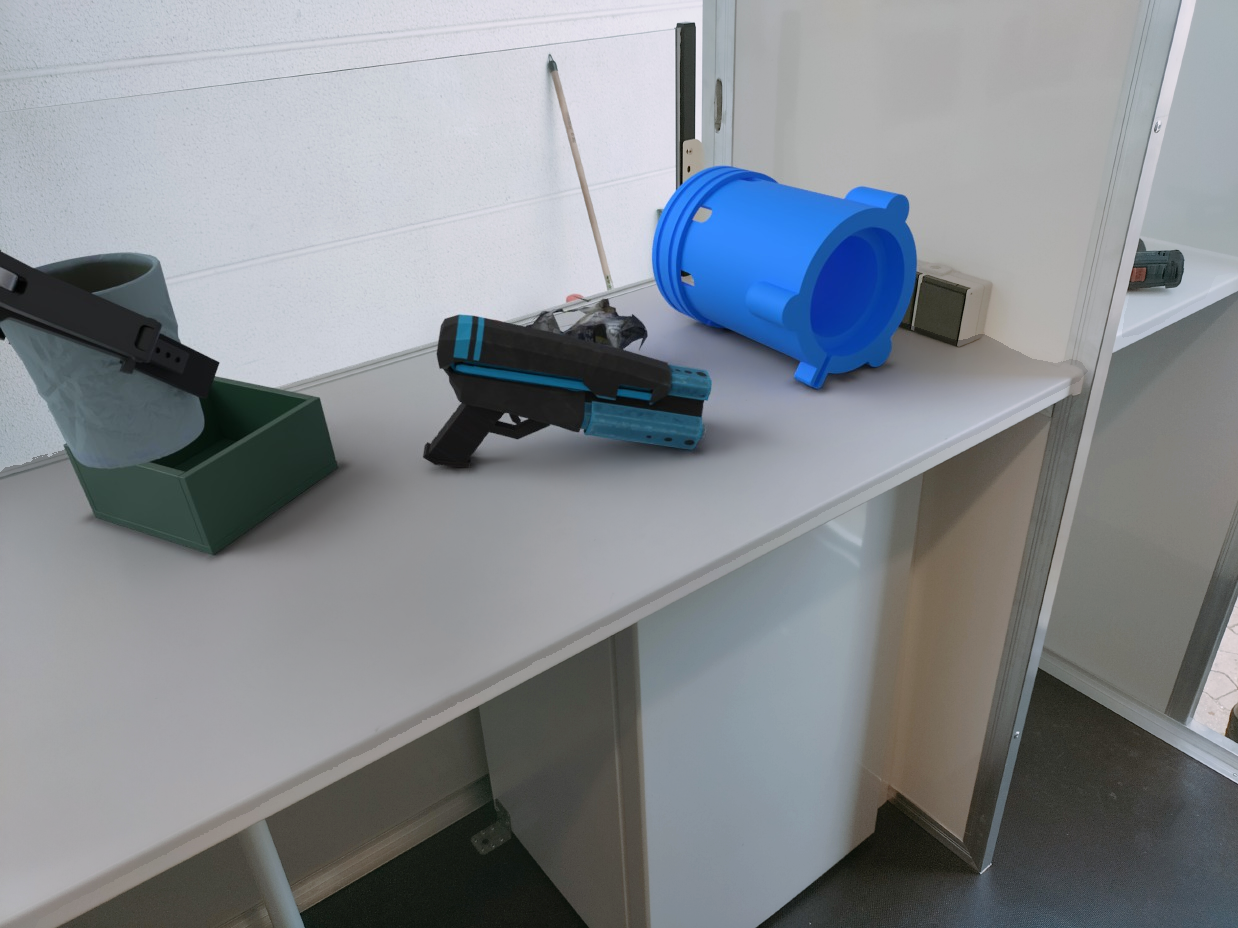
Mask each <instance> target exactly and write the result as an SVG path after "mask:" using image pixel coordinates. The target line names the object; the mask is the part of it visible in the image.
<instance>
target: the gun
mask: <svg viewBox="0 0 1238 928" xmlns="http://www.w3.org/2000/svg"><path fill="white" fill-rule="evenodd" d="M525 326H526V325H520V324H515V323H510V322H507V321H501V320H496V319H492V318H487V317H482V316H479V315H471V314H470V315H469V314H455V315H453V316H450V317H446V318H444V319H443V321H442V323H441V325H440V328H439V334H438V340H437V348H436V358H437V364H438V368H439V370H443V372H445V374H446V375H447V377H448V383H449V384H450V386H451V388H452V390H453V392H454V394H455V397H456V399H457V400H458V402H459V403H460V404H459V405H458V406H457V408H456V410H455V411H454V412H453V413H452V414H451V415H450V417H449V418H448V420H447V421H446V422H445V424H444V425H443V426H442V427H441V429H440V430H439V431H438V433H437V434H436V436H434V437H433V439H432V440H431V442H428V441H427V442H426V443H425V444H424V445H423V446H424V448H423V452H422V453H423V454H422V458H423V459H425V460H426V461H428V462H430V463H431V464H433V465H434V466H443V467H444V466H445V467H457V468H470V467H471V458H472V456H473V455H474V453H475V452H476V451H477V450H478V448H479V446H480V445H481V444H482V443H483V441H484V440H485V438H486V437H488V435H489V433H490V434H494V435H499V436H502V437H507V438H511V439H514V440H521V439H522V438H525V437H527V436H529V435H532V434H534V433H536V432H539V431H541V430H544V429H546V428H548V427H550V426H551V425H552V426H554V427H557V428H562V429H564V430H567V431H570V432H573V433H580V431H581V430H583V434H584V435H585V436H592V437H597V438H603V439H605V438H606V439H612V440H619V441H627V442H634V443H641V444H648V445H656V446H662V447H670V448H677V449H683V450H684V449H685V450H690V451H693V450H694V449H695V447H696V446H697V445H698V442H699V441H701V439H704V438H705V436H706V432H707V426H706V424H705V423H703V413H704V403H705V401H706V402H708V401H709V398H710V395H711V392H712V384H713V383H712V382H713V380H712V378H711V377H710V375H709V373H708V371H707V370H706V369H701V368H695V367H690V366H689V367H688V366H683V365H676V364H670V363H669V362H667V361H664V360H660V359H657V358H654V357H650V356H646V355H642V354H640V353H636V352H633V351H629V350H626V349H624V350H622V349H618V348H614V347H610V346H606V345H602V344H598V343H594V342H590V341H586V340H581V339H577V338H573V337H569V336H565V335H561V334H557V333H553V332H549V331H544V330H540V329H535V328H530V327H525ZM505 414H508V415H509V417H510V420H511V422H512V423H508V422H504V421H501V418H503V416H504V415H505ZM521 418H524V419H525V420H522V419H521ZM513 423H514V424H513Z"/></svg>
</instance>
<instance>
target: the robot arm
mask: <svg viewBox="0 0 1238 928" xmlns="http://www.w3.org/2000/svg"><path fill="white" fill-rule="evenodd" d="M35 268H36V267H32V266H31V265H29V264H26V263H25V262H23V261H21V260H19V259H17V258H15V257H14V256H11V255H9V254H8V253H5V252H3V251H2V249H0V323H1V322H3V321H5V320H11V321H14V322H17V323H20V324H23V325H26V326H28V327H31V328H34V329H37V330H40V331H43V332H45V333H48V334H51V335H54V336H57V337H60V338H63V339H65V340H68V341H71V342H74V343H77V344H80V345H82V346H85V347H88V348H91V349H94V350H97V351H99V352H102V353H105V354H108V355H111V356H114V357H117V358H119V359H121V360H120V362H119V363H120V364H122V366H121V369H120V372H123V373H127V374H132V373H133V371H134V370H136V371H139V372H141V373H143V374H146V375H148V376H150V377H153V378H155V379H157V380H160V381H162V382H164V383H167V384H169V385H171V386H174V387H176V388H178V389H181V390H183V391H185V392H188V393H190V394H192V395H195V396H197V397H200V398H205V399H207V397H208V394H209V391H210V389H211V386H212V383H213V380H214V377H215V376H216V374H217V371H218V369H219V366H220V361H218V360H216V359H214V358H212V357H210V356H208V355H206V354H204V353H202V352H200V351H197V350H195V349H193V348H192V347H189V346H188V345H185V344H183V343H182V342H181V343H179V342H177V341H175V340H173V339H171V338H169V337H167V336H165V335H163V334H161V333H160V331H161V328H162V326H163V325H162V324H161V323H160V322H157V320H155V319H153V318H147V317H145V316H143V315H141V314H138V313H136V312H134V311H131V310H129V309H127V308H124V307H122V306H120V305H118V304H115V303H113V302H111V301H108V300H106V299H104V298H101V297H99V296H97V295H95V294H92V293H90V292H88V291H85V290H83V289H81V288H78V287H76V286H74V285H72V284H69V283H67V282H65V281H62V280H60V279H58V278H55V277H53V276H51V275H49V274H46V273H44V272H42V271H39V270H37V269H35ZM6 339H7V338H6V336H5V334H4V332H3V331H2V329H1V327H0V341H2V342H3V341H5V340H6ZM8 345H10V346H11V344H10V343H9V342H8Z"/></svg>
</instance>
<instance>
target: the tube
mask: <svg viewBox="0 0 1238 928" xmlns="http://www.w3.org/2000/svg"><path fill="white" fill-rule="evenodd" d="M700 208H702V209H706V210H710V211H711V214H710V215H709V217H708V218H707V219H706V220H705V221H701V222H700V221H697V220H695V219H694V218H695V216H696V214H697V213H698V211H699V210H700ZM909 213H910V201H909V199H908V197H907V195H904V194H901V193H896V192H892V191H887V190H882V189H877V188H873V187H869V186H865V185H864V186H863V185H862V186H856V187H853V188H852V189H850V190H849V191H848V193H846V195H845V197H844V198H843V197H839V196H838V197H837V196H833V195H829V194H825V193H820V192H817V191H812V190H808V189H804V188H799V187H796V186H791V185H787V184H783V183H779V182H778V181H777V180H776V179H774V178H773V177H771V176H770V175H767V174H765V173H762V172H758V171H753V170H749V169H745V168H740V167H737V166H731V165H714V166H711V167H707V168H705V169H702V170H699V171H698V172H696V173H694V174H693V175H691V176H690V177H689V178H688V179H686V180H685V181H684V182H683V183H681V185H679V187H678V188H677V189H676V190H675V191H674V192H673V194H672V195H671V196H670V197H669V199H668V200H667V203H666V204H665V206H664V207H663V210H662V211H661V213H660V216H659V219H658V220H657V224H656V227H655V230H654V234H653V240H652V247H651V265H652V266H651V267H652V272H653V277H654V280H655V284H656V286H657V289H658V291H659V293H660V295H661V296H662V298H663V299H664V301H665V302H666V303H667V304H668V305H669V306H670V307H671V308H672V309H673V310H675V311H677V312H678V313H680V314H681V315H685V316H687V317H688V318H691V319H694V320H695V321H698V322H699V323H701V324H704V325H707V326H709V327H712V328H716V329H728V330H731V331H732V332H735V333H737V334H739V335H742V336H744V337H746V338H748V339H751V340H753V341H755V342H757V343H759V344H762V345H763V346H765V347H768V348H770V349H773V350H775V351H777V352H779V353H781V354H784V355H786V356H788V357H790V358H793V359H795V360H797V361H799V364H798V366H797V368H796V370H795V372H794V375H793V378H794V379H795V381H798V382H801V383H802V384H805V385H806V386H808V387H810V388H813V389H816V390H819V389H821V388H822V387H823V385H824V382H825V380H826V378H827V376H828V374H844V373H847V372H848V373H849V372H851V371H854V370H856V369H858V368H860V367H862V366H864V365H867V366H869V367H872V368H878V367H880V366H882V365H883V364H884V363H885V362H886V361H887V360H888V358H889V356H890V355H891V352H892V349H893V348H892V347H893V341H892V337H893V336H894V334H895V333H896V332H897V330H898V328H899V327H900V325H901V323H902V322H903V319H904V317H905V315H906V312H907V310H908V308H909V305H910V303H911V299H912V297H913V294H914V289H915V286H916V285H915V284H916V279H917V272H918V271H917V270H918V256H917V246H916V242H915V238H914V235H913V232H912V230H911V228H910V227H909V225H908V223H907V219H908V218H909ZM682 272H685V273H688V274H689V275H690V276H691V277H692V280H693V285H692V284H690V283H688V282H685V281H683V280H682Z"/></svg>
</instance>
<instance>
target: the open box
mask: <svg viewBox="0 0 1238 928" xmlns="http://www.w3.org/2000/svg"><path fill="white" fill-rule="evenodd" d="M321 400H322V399H321V397H320V396H315V395H311V394H305V393H301V392H295V391H291V390H286V389H281V388H276V387H270V386H266V385H261V384H258V383H257V384H256V383H252V382H251V383H250V382H246V381H241V380H237V379H231V378H227V377H222V376H216V375H215V377H214V380H213V383H212V386H211V389H210V391H209V394H208V397H207V399H205V398H200V397H199V401H200V404H201V408H202V412H203V415H204V428H203V431H202V432H201V434H200V435H199V436H198V437H197V438H196V439H195V440H194V441H192V442H191V443H190V444H188V445H187V446H185V447H184V448H182V449H180V450H178V451H176V452H174V453H172V454H170V455H167V456H164V457H162V458H159V459H155V460H153V461H150V462H146V463H141V464H138V465H133V466H127V467H123V468H121V467H118V468H113V469H108V468H93V467H87V466H85V465H83V464H81V463H80V462H79V461H78V460H77V459H76V458H75V457H74V455H73V454H72V452H71V450H70V448H69V447H68V445H67V443H66V442H65V443H64V444H63V445H62V446H63V448H64V450H65V452H66V455H67V457H68V459H69V461H70V463H71V466H72V468H73V470H74V472H75V474H76V475H75V476H76V477H77V479H78V481H79V484H80V487H81V489H82V490H83V492H84V495H85V497H86V499H87V502H88V504H89V506H90V508H91V511H92V513H93V516H94V517H95V518H97V519H99V520H103V521H106V522H109V523H112V524H115V525H119V526H121V527H125V528H127V529H130V530H134V531H136V532H140V533H143V534H146V535H149V536H153V537H156V538H159V539H162V540H165V541H168V542H171V543H174V544H178V545H181V546H184V547H187V548H190V549H193V550H196V551H199V552H201V553H202V552H203V553H205V554H208V555H212V556H214V555H215V554H217V553H219V552H220V551H222V550H223V549H224V548H226V547H227V546H228V545H230V544H231V543H233V542H234V541H235V540H237V539H238V538H240V537H241V536H242V535H244V534H245V533H247V532H248V531H250V530H251V529H253V528H254V527H255V526H256V525H258V524H259V523H261V522H263V521H264V520H265V519H267V518H268V517H270V516H271V515H272V514H274V513H275V512H278V510H280V509H281V508H282V507H284V506H285V505H287V504H288V503H289V502H291V501H292V500H294V499H295V498H296V497H298V496H299V495H301V494H302V493H303V492H306V491H307V490H308V489H309V488H311V487H312V486H314V485H315V484H317V483H318V482H319V481H321V480H322V479H324V478H325V477H326V476H328V475H329V474H330V473H332V472H334V471H335V470H336V469H338V468H339V465H338V462H337V459H336V458H337V457H336V454H335V450H334V447H333V442H332V439H331V435H330V431H329V428H328V427H329V426H328V424H327V420H326V416H325V411H324V408H323V404H322V401H321Z"/></svg>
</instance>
